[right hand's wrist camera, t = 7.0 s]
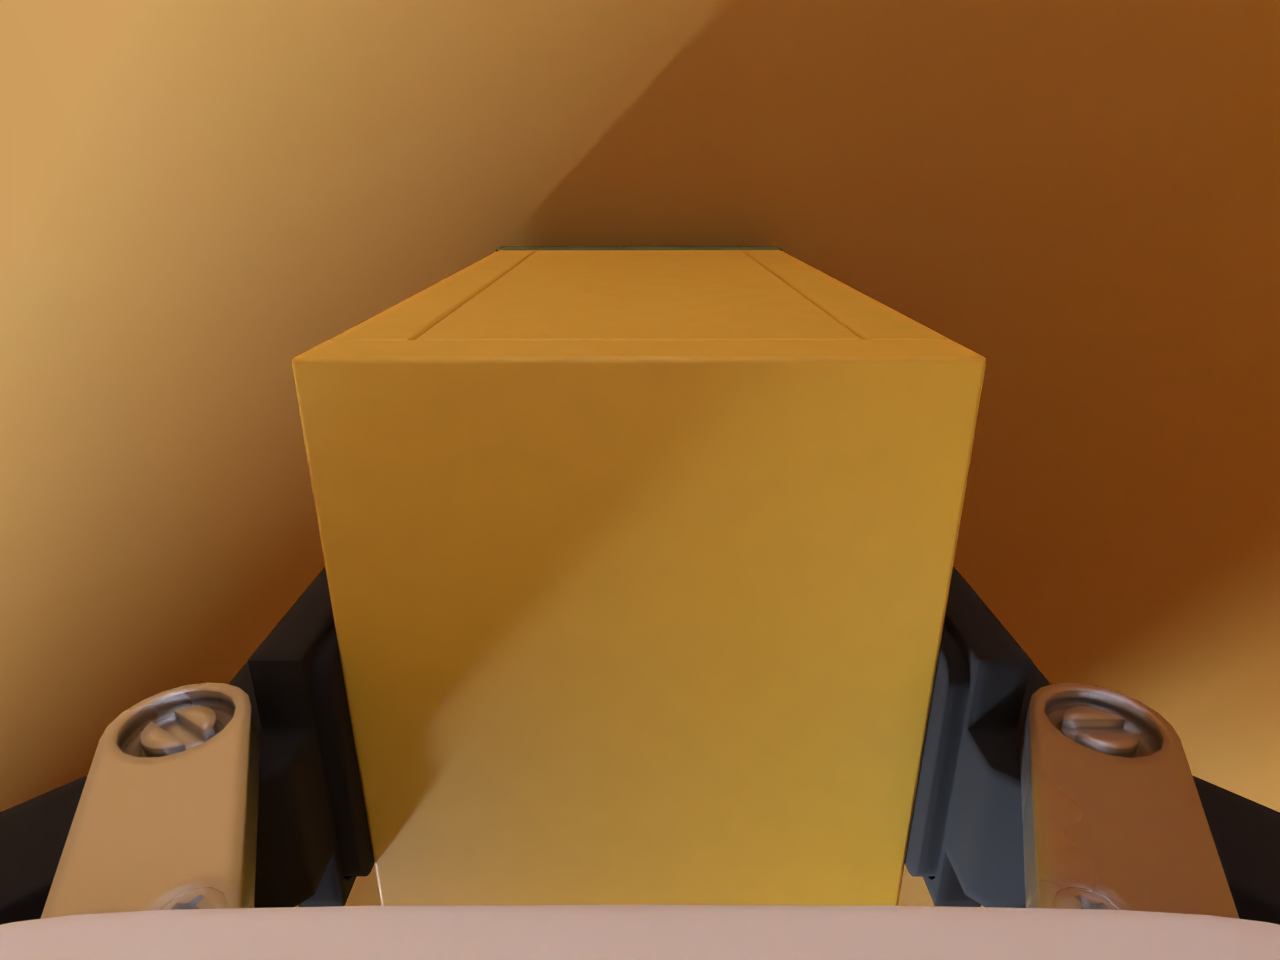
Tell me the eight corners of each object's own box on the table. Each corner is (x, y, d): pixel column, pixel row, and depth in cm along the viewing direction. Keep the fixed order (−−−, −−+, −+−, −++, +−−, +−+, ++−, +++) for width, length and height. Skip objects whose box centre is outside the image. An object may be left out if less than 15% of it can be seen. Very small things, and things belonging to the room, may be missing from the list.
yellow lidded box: (742, 808, 23) (828, 1338, 13) (537, 809, 23) (451, 1339, 13) (776, 246, 18) (991, 355, 7) (501, 246, 18) (286, 357, 7)
